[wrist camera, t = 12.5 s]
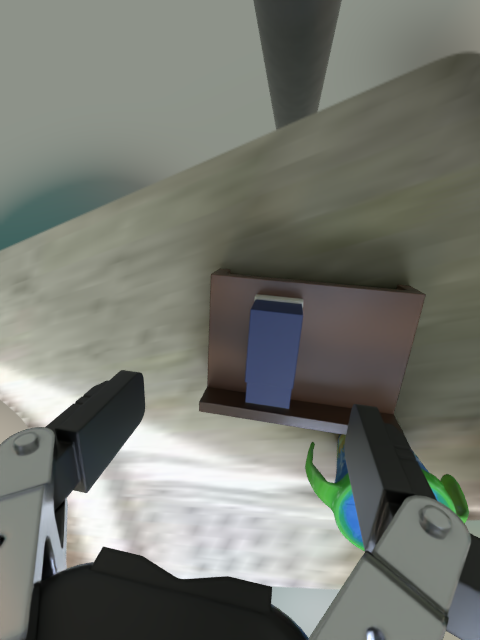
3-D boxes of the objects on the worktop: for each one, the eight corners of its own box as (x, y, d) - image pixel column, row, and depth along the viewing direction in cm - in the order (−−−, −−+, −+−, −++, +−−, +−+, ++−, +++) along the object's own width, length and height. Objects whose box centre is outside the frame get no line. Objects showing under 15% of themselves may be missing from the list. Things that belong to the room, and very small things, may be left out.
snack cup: (293, 454, 39) (293, 528, 30) (320, 388, 36) (330, 448, 26) (412, 493, 38) (452, 584, 28) (452, 429, 34) (513, 508, 25)
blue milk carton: (256, 294, 29) (249, 306, 25) (303, 298, 29) (305, 312, 24) (247, 390, 33) (240, 417, 28) (289, 397, 32) (289, 425, 28)
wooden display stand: (220, 268, 33) (202, 279, 27) (409, 285, 30) (442, 302, 24) (215, 378, 38) (198, 411, 31) (380, 402, 35) (401, 444, 28)
